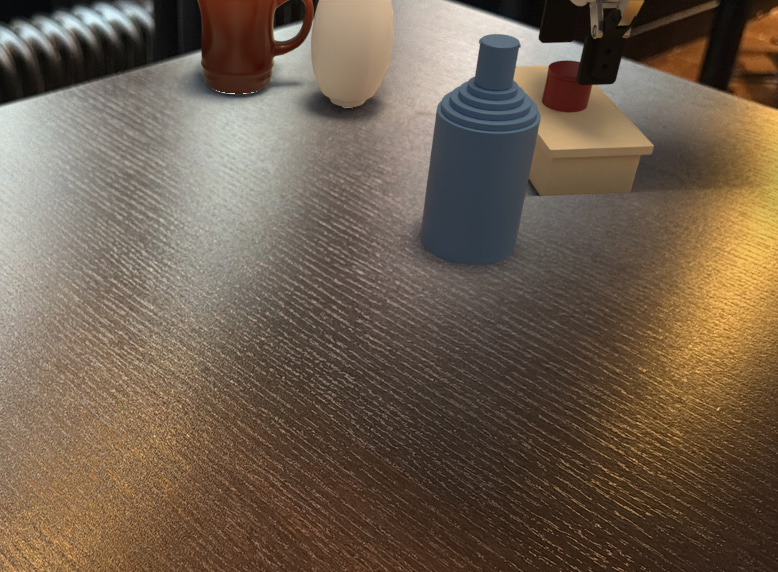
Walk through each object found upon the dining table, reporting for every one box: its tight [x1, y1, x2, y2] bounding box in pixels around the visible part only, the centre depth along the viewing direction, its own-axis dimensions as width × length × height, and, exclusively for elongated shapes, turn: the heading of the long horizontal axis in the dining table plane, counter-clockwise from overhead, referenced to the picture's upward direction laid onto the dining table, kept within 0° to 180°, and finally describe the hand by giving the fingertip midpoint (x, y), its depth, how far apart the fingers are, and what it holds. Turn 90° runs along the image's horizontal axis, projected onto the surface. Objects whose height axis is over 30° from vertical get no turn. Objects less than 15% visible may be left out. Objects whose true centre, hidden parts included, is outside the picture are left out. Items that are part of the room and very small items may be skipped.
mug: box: [196, 0, 315, 94], centre depth 101 cm, size 12×9×10 cm
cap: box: [542, 59, 592, 112], centre depth 88 cm, size 4×4×3 cm
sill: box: [513, 65, 655, 197], centre depth 90 cm, size 9×18×5 cm, turn 5°
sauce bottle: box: [310, 0, 395, 108], centre depth 95 cm, size 8×8×18 cm
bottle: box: [419, 33, 541, 266], centre depth 73 cm, size 7×7×17 cm
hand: (574, 61), depth 86 cm, fingers open, 9 cm apart
